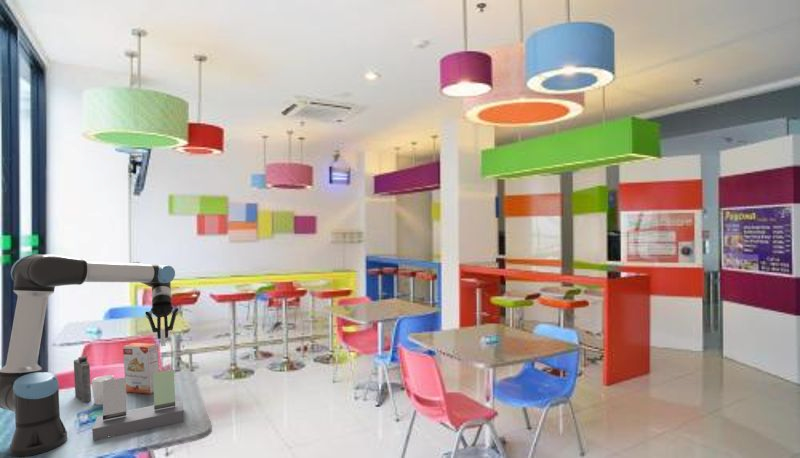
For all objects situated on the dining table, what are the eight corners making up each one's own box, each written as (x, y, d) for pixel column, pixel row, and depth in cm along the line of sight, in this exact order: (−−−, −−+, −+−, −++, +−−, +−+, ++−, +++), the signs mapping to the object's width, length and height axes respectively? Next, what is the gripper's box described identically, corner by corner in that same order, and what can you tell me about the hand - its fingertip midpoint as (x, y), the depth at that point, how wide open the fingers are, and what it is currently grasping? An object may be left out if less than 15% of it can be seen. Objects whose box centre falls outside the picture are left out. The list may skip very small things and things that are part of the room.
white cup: (119, 398, 193) (118, 374, 193) (105, 405, 185) (104, 381, 185) (102, 398, 194) (101, 375, 194) (88, 405, 186) (86, 381, 186)
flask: (84, 393, 201) (82, 353, 201) (94, 400, 191) (92, 358, 191) (74, 395, 198) (72, 355, 198) (84, 403, 189) (82, 360, 189)
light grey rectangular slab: (103, 420, 160) (103, 381, 165) (126, 415, 163) (126, 378, 168) (102, 419, 159) (103, 381, 164) (125, 415, 162) (125, 377, 167)
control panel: (97, 427, 164) (97, 416, 164) (182, 409, 177) (182, 399, 177) (92, 440, 153) (92, 429, 153) (183, 421, 166) (183, 410, 166)
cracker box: (124, 392, 199) (122, 345, 199) (136, 387, 205) (133, 342, 205) (149, 394, 195) (147, 346, 195) (160, 389, 201) (158, 343, 201)
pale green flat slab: (154, 410, 167) (153, 373, 172) (175, 406, 171) (173, 370, 176) (154, 409, 166) (153, 372, 171) (175, 405, 169) (173, 369, 174)
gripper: (178, 302, 205) (181, 346, 191) (145, 305, 199) (145, 352, 185) (178, 292, 201) (180, 336, 186) (144, 295, 195) (144, 341, 180)
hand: (163, 344), depth 185 cm, fingers closed
